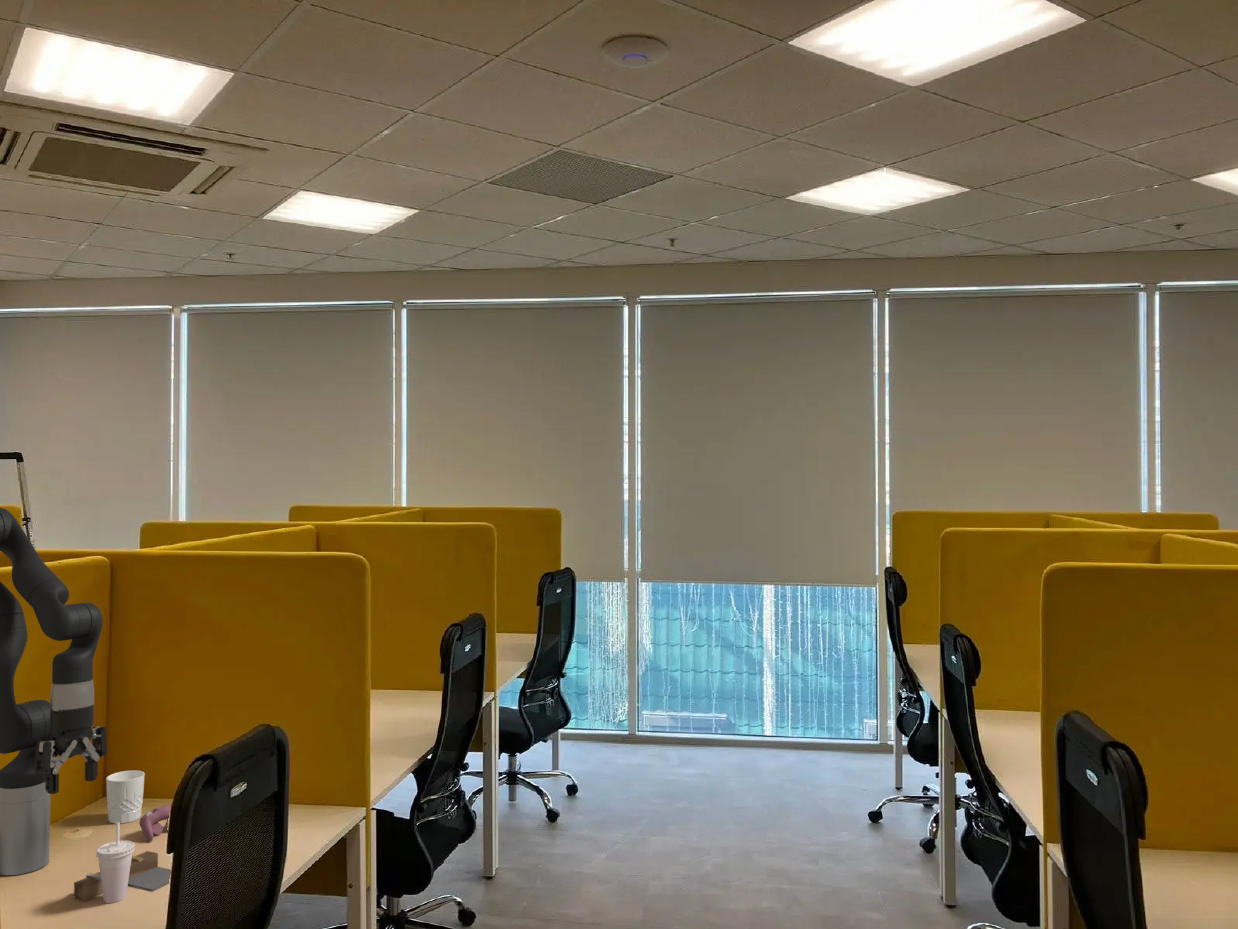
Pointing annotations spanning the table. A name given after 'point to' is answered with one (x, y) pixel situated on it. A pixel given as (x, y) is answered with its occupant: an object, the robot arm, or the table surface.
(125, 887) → the smoothie
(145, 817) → the video game controller
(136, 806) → the white cup
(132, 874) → the guide rail
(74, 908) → the table surface
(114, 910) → the table surface
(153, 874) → the end pad
